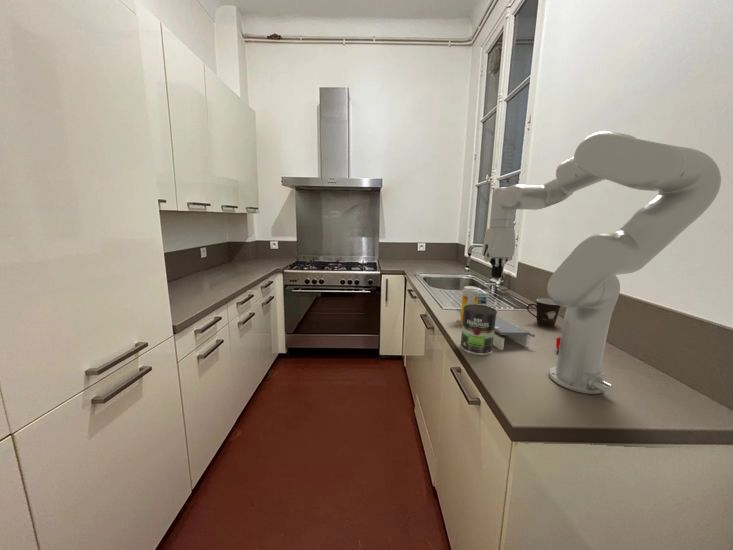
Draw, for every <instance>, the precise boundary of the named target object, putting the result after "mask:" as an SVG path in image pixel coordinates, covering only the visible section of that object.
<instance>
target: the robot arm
mask: <svg viewBox="0 0 733 550" xmlns="http://www.w3.org/2000/svg"><path fill="white" fill-rule="evenodd" d="M605 180H607V181H609V182H612V183H615V184H618V185H620V186H623V187H627V188H631V189H635V190H639V191H648V192H649V191H650V192H658V193H657V195H656V196H655V197H654V198H653V199H651V200H650V201H649V202H647V203H646V204H644V205H643V206H642V207H641V208H639V209H638V210H637V211H636V212H635V213H634V214H633V215H632V216H631V217H630V219H629V220H628V221H627V222H626V223H624V225H623V226H622V227H621V228H619V229H618V230H617V231H614V232H602V233H598V234H594V235H591V236H589V237H587V238H586V239H584V240H583V241H581V242H580V243H579V244H578V245H577V246H576V247H575V248H574V249H573V250H572V251H571V252H570V253H569V255H568V256H567V257H566V258H565V259H564V261H562V262H561V264H560V265H559V267H557V269H556V270H555V271H554V272H553V273H552V274H551V276H550V278H549V280H548V283H547V289H546V291H547V295H548V297H549V299H551V300H552V301H553V302H554V303H555V304H557V305H559V306H560V307H563V308H566V310H565V313H564V317H563V323H562V326H561V327H562V328H561V335H560V337H561V340H560V347H559V350H558V354H557V362H556V365H554V366H552V367H550V368H549V370H548V376H549V377H550V378H551V380H552V381H553V382H554V383H556V384H558V385H560V386H561V387H563V388H565V389H567V390H568V389H569V390H571V391H573V392H576V393H581V394H587V395H588V394H589V395H597V394H604V395H605V396H608V395H610V394H611V392H612V390H613V389H614V386H613V385H612V383H609V382H607V381H605V373H604V372H601V369H602V364H603V359H604V353H605V348H606V342H607V337H608V332H609V328H610V322H611V319H612V314H613V312H614V309H615V307H616V304H617V302H618V300H619V296H620V292H621V283H620V280H619V278H618V275H625V274H626V275H628V274H632V273H635V272H638V271H640V270H642V269H643V268H644V267H645V266H646V265H647V264H648V263H650V262H651V261H652V260H653V259H654V258H655V257H656V256H657V255H659V254H660V253H661V252H662V251H663V250H664V249H665V248H666V247H667V246H668V245H670V244H671V243H672V242H673V241H674V240H676V238H677V237H678V236H679V235H680V234H681V233H683V231H685V230H686V229H687V228H688V227H690V225H692V224H693V223H694V222H695V221H696V220H697V219H698V218H700V217H701V216H702V215H703V214H704V213H705V211H707V210H708V208H709V207H710V206H711V205H712V204H713V202H714V201H715V200H716V198H717V196H718V195H719V192H720V188H721V184H722V176H721V171H720V168H719V166H718V164H717V162H716V161H715V160H714V159H713V158H712V157H711V156H709V154H707V153H706V152H703V151H700V150H699V149H694V148H690V147H684V146H677V145H672V144H666V143H661V142H654V141H650V140H645V139H640V138H637V137H635V136H633V135H630V134H625V133H620V132H615V131H609V130H608V131H607V130H602V131H598V132H594V133H592V134H591V135H588V136H587V137H586V138H584V139H583V140H582V141H581V142H580V143H579V144H578V146H577V147H576V149H575V152H574V156H572V157H571V158H568V159H566V160H565V161H562V162H561V163H559V164H558V166H557V168H556V171H555V178H554V179H552V180H550V181H548V182H546V183H542V184H540V185H537V184H536V185H535V184H520V183H519V184H513V185H509V186H502V187H501V186H500V187H496V188H495V189H494V190H492V195H491V207H490V218H489V227H488V228H487V229H486V230H485V235H484V238H483V243H482V251H481V252H482V253H481V254H482V256H483V260H484V261H485V262H489V263H490V265H491V277H492V278H496V279H498V278H499V279H501V278H502V274H503V267H505V264H506V263H507V262H511V261H513V257H514V255H515V249H516V248H515V247H516V231H515V230H516V229H515V228H514V226H516V224H517V222H516V221H515V215H516V210H531V211H532V210H533V211H536V210H542V209H545V208H549V207H550V206H553V205H556V204H559V203H562V202H563V201H566V200H567V199H568V198H570V197H571V196H572V195H573V194H574V193H575V192H576V191H579V190H582V189H584V188H586V187H589V186H592V185H594V184H597V183H600V182H602V181H605Z"/></svg>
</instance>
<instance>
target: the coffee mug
mask: <svg viewBox="0 0 733 550" xmlns="http://www.w3.org/2000/svg"><path fill="white" fill-rule="evenodd" d="M531 306H534V307H535V309H536V315H535V314H534V313H533V312H532V311H530V309H529V308H530V307H531ZM526 309H527V311H528V313H529V314H530V315H532V316H533V317H535V319H536V324H537V325H538V326H539V327H544V328H554V327H555V325H556V322H557V319H558V315H559V312H560V309H561V306H559V305H557V304H555V303H554V302H553V301H552V300H551V299H550V298H537V299H536V304H535V303H529V304H527V307H526Z"/></svg>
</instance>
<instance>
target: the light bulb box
mask: <svg viewBox="0 0 733 550" xmlns="http://www.w3.org/2000/svg"><path fill="white" fill-rule="evenodd" d="M477 288H478V290H479V293H478V304H477V305H484V306H488V300H489V299H488V298H489V293H488V292H487V291H485V290H483V289H481V288H480V287H477Z"/></svg>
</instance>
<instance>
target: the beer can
mask: <svg viewBox="0 0 733 550" xmlns="http://www.w3.org/2000/svg"><path fill="white" fill-rule="evenodd" d="M478 288H479V287H477V286H473V285H465V286H464V287H463V289H462V299H461V311H460V312H461V313H460V319H461V321H462V322H463V313H464V309H463V308H464V306H466V305H472V304H473V305H477V304H478V293H479V290H478Z"/></svg>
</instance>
